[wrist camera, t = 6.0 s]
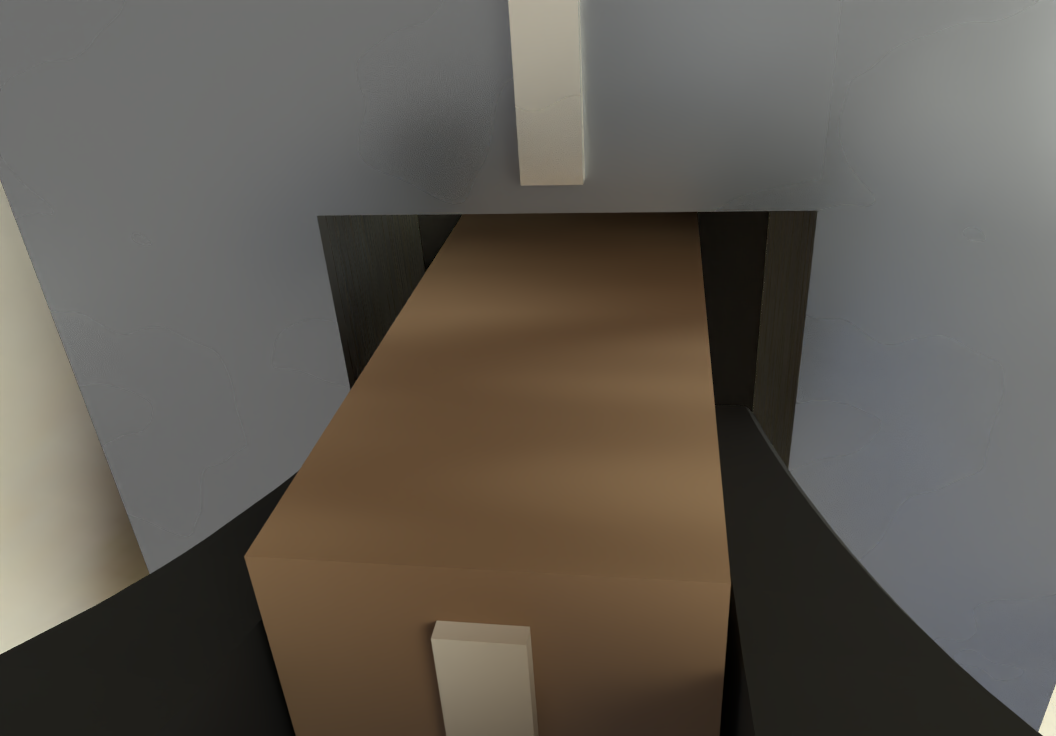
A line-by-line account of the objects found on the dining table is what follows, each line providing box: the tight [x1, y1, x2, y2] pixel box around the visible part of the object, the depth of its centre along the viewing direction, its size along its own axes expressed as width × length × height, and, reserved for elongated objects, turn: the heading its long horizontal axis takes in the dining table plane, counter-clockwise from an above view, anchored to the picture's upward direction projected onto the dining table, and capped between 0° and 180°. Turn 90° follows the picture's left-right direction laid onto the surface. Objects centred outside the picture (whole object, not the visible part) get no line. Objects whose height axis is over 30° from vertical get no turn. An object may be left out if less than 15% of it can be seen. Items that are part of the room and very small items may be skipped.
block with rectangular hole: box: [0, 0, 1056, 732], centre depth 11 cm, size 12×12×4 cm
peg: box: [244, 212, 731, 736], centre depth 9 cm, size 3×4×7 cm, turn 3°
